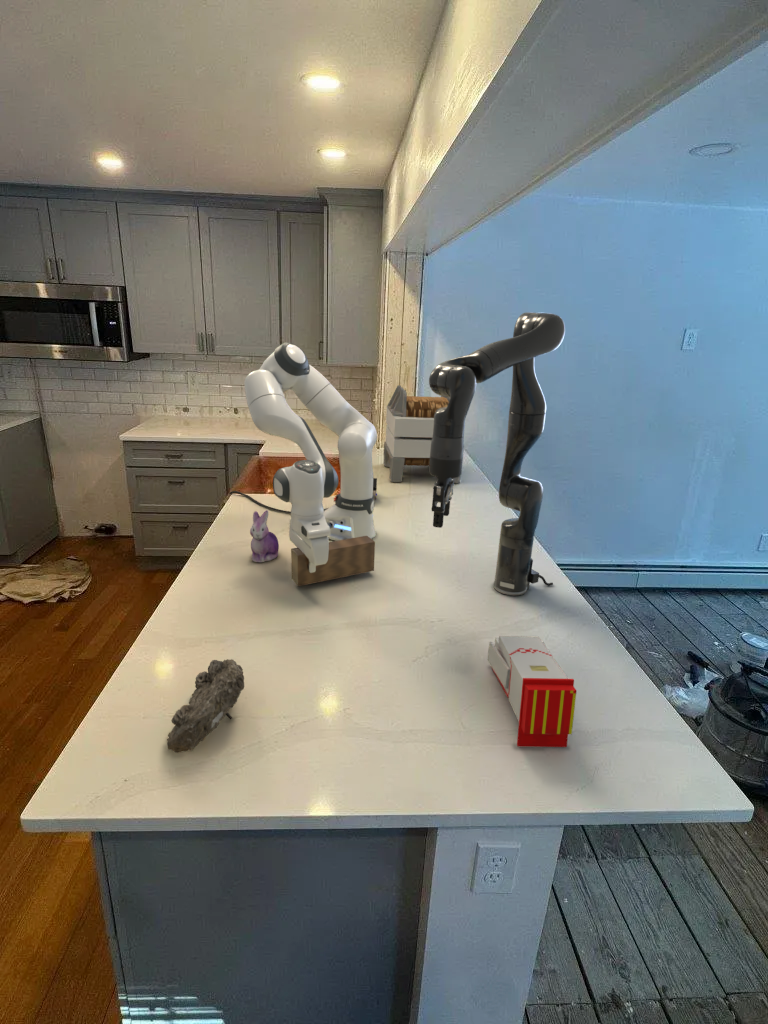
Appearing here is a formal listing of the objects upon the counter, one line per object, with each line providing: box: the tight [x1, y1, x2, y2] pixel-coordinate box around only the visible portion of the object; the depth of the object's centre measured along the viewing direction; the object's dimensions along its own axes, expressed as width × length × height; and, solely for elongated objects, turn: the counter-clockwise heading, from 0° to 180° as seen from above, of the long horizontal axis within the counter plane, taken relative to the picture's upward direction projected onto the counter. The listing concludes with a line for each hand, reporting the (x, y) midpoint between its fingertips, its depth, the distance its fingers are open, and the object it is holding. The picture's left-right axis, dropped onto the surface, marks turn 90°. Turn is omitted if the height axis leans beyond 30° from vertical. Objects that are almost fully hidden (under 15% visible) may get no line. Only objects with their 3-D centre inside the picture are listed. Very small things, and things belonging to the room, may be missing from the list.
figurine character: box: [373, 477, 378, 500], centre depth 233 cm, size 7×8×15 cm
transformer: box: [383, 384, 461, 484], centre depth 268 cm, size 34×33×41 cm
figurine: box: [249, 509, 280, 563], centre depth 174 cm, size 9×10×15 cm
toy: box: [486, 635, 577, 748], centre depth 115 cm, size 12×13×30 cm
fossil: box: [166, 658, 245, 754], centre depth 106 cm, size 22×10×15 cm
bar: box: [290, 536, 376, 587], centre depth 162 cm, size 24×5×9 cm, turn 119°
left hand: (307, 566), depth 159 cm, fingers closed on bar, 5 cm apart
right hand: (441, 520), depth 135 cm, fingers open, 8 cm apart
